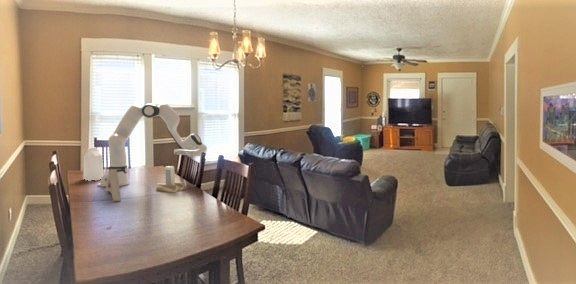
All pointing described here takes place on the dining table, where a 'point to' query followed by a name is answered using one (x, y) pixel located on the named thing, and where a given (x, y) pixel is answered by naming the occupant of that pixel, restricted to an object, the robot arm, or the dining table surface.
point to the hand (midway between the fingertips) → (180, 153)
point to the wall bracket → (113, 185)
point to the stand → (170, 187)
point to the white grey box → (169, 175)
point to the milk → (93, 165)
